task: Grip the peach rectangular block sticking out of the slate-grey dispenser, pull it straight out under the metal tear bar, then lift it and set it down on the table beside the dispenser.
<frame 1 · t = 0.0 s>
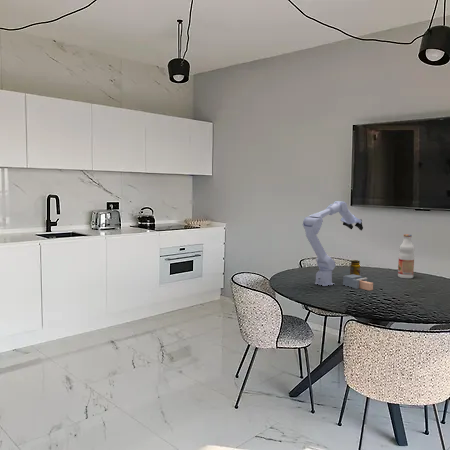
hand: (357, 228, 283), 32 cm above the table, tool tilted 50°, fingers open, 7 cm apart
condiment: (353, 279, 285), on the table
dispenser: (354, 286, 266), on the table
peach rectangular block: (364, 288, 260), on the table
fruit juice: (405, 277, 292), on the table
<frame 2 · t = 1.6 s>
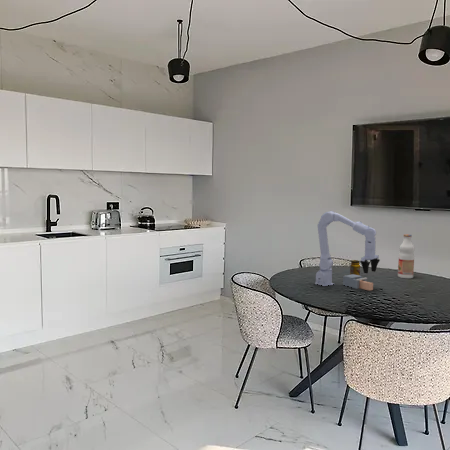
hand: (369, 272, 258), 10 cm above the table, tool pointing down, fingers open, 7 cm apart
nothing on the table moved.
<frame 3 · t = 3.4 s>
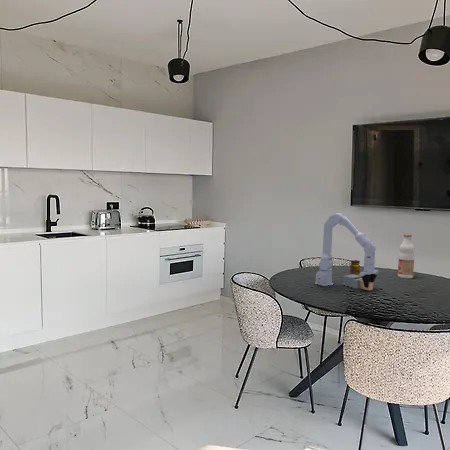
hand: (368, 287, 258), 1 cm above the table, tool pointing down, fingers closed on peach rectangular block, 3 cm apart
peach rectangular block: (364, 288, 260), on the table, touching gripper
everything else where it was.
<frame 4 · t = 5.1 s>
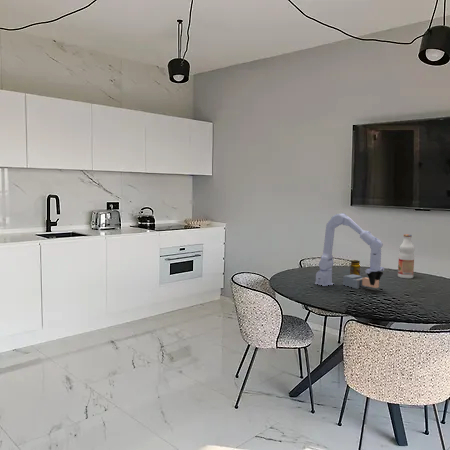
hand: (374, 284, 254), 4 cm above the table, tool pointing down, fingers closed on peach rectangular block, 3 cm apart
peach rectangular block: (370, 286, 256), point 2 cm above the table, touching gripper
everything else where it was.
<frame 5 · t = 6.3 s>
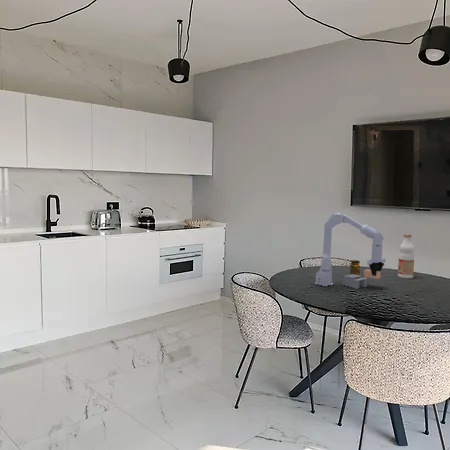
hand: (375, 275, 263), 7 cm above the table, tool pointing down, fingers closed on peach rectangular block, 3 cm apart
peach rectangular block: (372, 277, 265), point 5 cm above the table, touching gripper
everything else where it was.
when the fingers open (3 cm above the table, at t = 7.3 s): peach rectangular block drops 1 cm, on the table.
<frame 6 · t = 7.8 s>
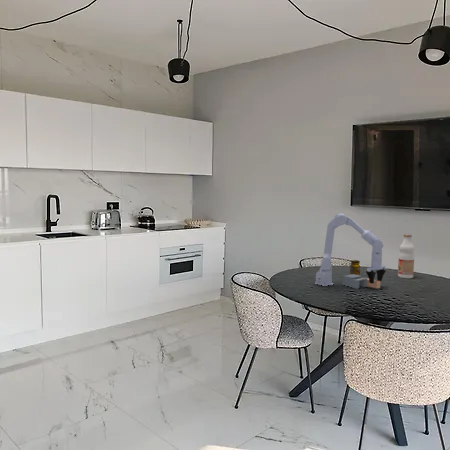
hand: (375, 282, 263), 3 cm above the table, tool pointing down, fingers open, 7 cm apart
peach rectangular block: (371, 286, 265), on the table
everything else where it was.
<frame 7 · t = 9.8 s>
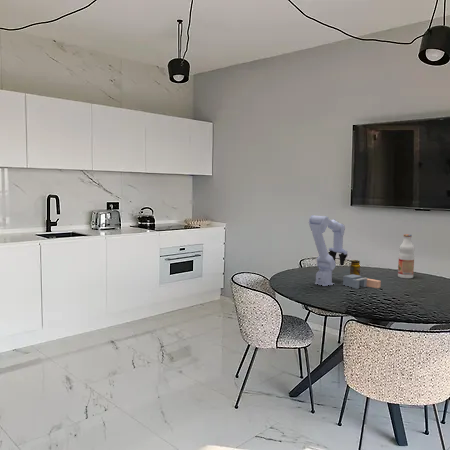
hand: (337, 264, 280), 10 cm above the table, tool pointing down, fingers open, 7 cm apart
nothing on the table moved.
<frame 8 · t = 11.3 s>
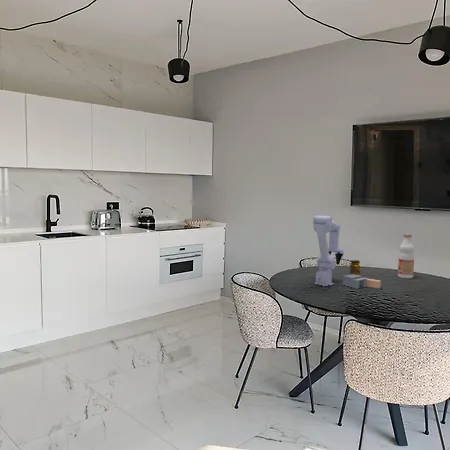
hand: (333, 263, 281), 10 cm above the table, tool pointing down, fingers open, 7 cm apart
nothing on the table moved.
at the end: peach rectangular block inside the target area (2.3 cm from its centre), on the table; peach rectangular block touching table; the gripper is holding nothing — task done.
